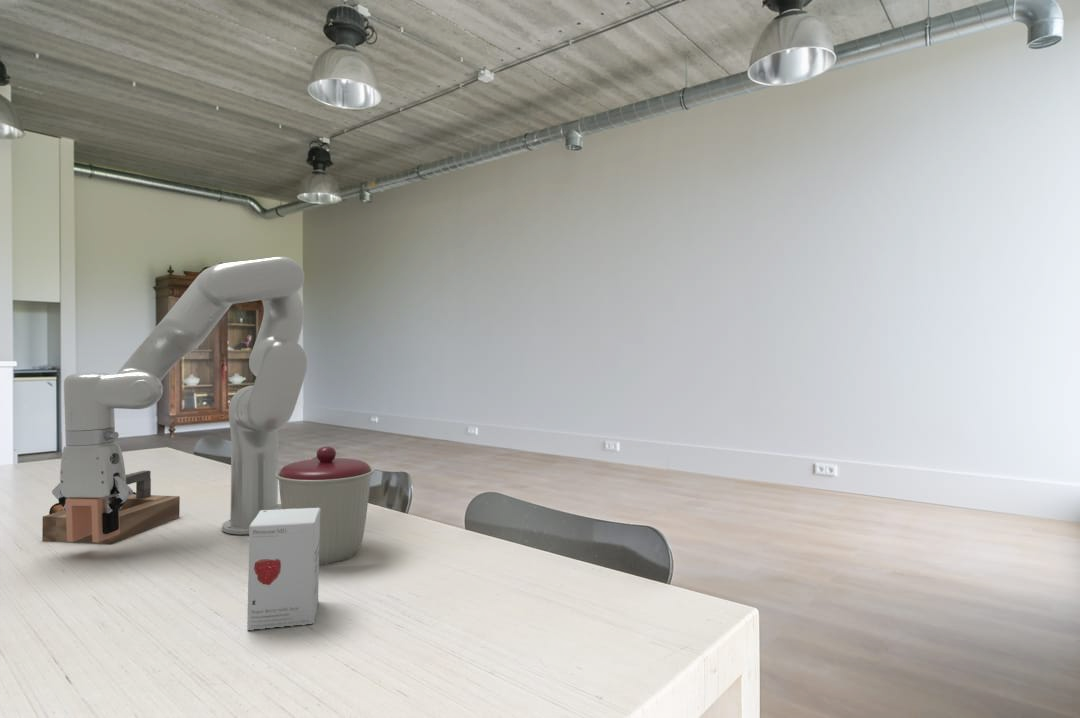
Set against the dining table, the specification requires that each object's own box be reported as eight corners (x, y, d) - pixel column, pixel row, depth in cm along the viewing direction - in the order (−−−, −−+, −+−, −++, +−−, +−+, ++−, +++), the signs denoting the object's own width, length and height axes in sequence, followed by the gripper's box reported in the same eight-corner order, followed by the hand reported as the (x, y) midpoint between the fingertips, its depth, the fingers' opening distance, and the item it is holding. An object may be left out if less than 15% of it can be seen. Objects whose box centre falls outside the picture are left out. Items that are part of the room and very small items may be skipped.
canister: (343, 576, 104) (344, 456, 104) (252, 568, 108) (253, 451, 108) (389, 544, 122) (390, 442, 122) (309, 538, 126) (311, 438, 126)
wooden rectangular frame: (179, 517, 140) (179, 470, 140) (110, 544, 120) (111, 489, 120) (120, 515, 142) (120, 468, 142) (42, 540, 122) (42, 487, 122)
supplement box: (245, 632, 83) (246, 525, 83) (257, 606, 92) (258, 509, 92) (314, 625, 86) (315, 521, 86) (320, 600, 94) (321, 506, 94)
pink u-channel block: (119, 533, 116) (118, 492, 116) (98, 542, 111) (97, 499, 111) (89, 533, 117) (88, 492, 116) (66, 541, 112) (65, 499, 111)
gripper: (148, 435, 116) (150, 526, 117) (66, 434, 118) (69, 524, 118) (117, 441, 109) (120, 539, 109) (30, 441, 110) (33, 537, 111)
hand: (93, 530), depth 114 cm, fingers closed on pink u-channel block, 6 cm apart
